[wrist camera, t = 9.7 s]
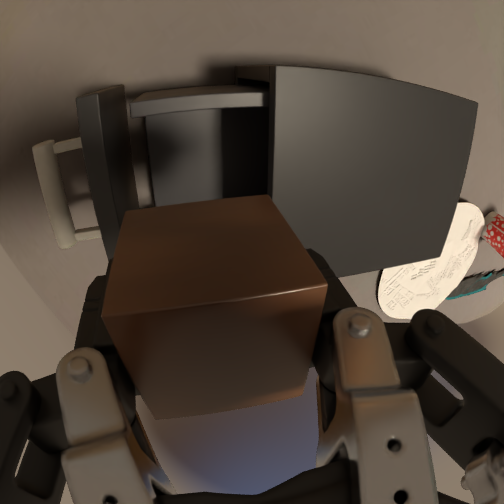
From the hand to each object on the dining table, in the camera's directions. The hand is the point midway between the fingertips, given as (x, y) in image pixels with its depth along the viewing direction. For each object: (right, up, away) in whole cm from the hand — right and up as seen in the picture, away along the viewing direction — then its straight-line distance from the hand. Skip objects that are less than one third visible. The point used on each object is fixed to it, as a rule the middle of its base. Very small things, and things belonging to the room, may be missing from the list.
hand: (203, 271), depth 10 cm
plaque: (+27, -1, +28) cm, 39 cm away
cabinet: (+8, +10, +15) cm, 19 cm away
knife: (+42, -5, +35) cm, 54 cm away
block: (0, 0, 0) cm, 0 cm away
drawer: (-4, +8, +12) cm, 15 cm away
